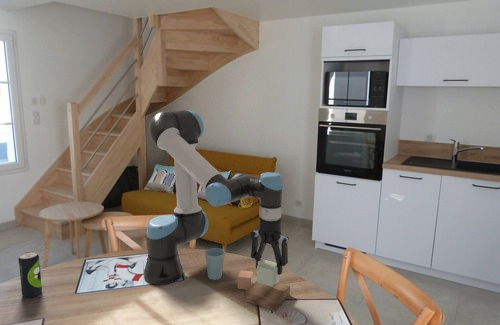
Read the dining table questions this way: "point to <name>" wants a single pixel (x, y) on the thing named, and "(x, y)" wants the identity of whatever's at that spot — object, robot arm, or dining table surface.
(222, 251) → the cup
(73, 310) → the dining table surface
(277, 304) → the walnut block
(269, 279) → the pale green cube
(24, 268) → the beverage can
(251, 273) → the terracotta cube
